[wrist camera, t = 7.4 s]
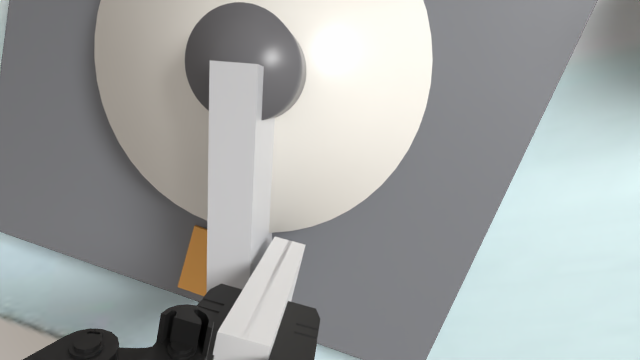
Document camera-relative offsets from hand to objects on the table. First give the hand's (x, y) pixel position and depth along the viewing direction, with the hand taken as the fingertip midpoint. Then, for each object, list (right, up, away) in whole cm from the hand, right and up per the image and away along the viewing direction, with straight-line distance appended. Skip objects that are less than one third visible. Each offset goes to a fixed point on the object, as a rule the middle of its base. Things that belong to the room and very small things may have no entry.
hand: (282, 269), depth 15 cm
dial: (-1, +7, +1) cm, 7 cm away
